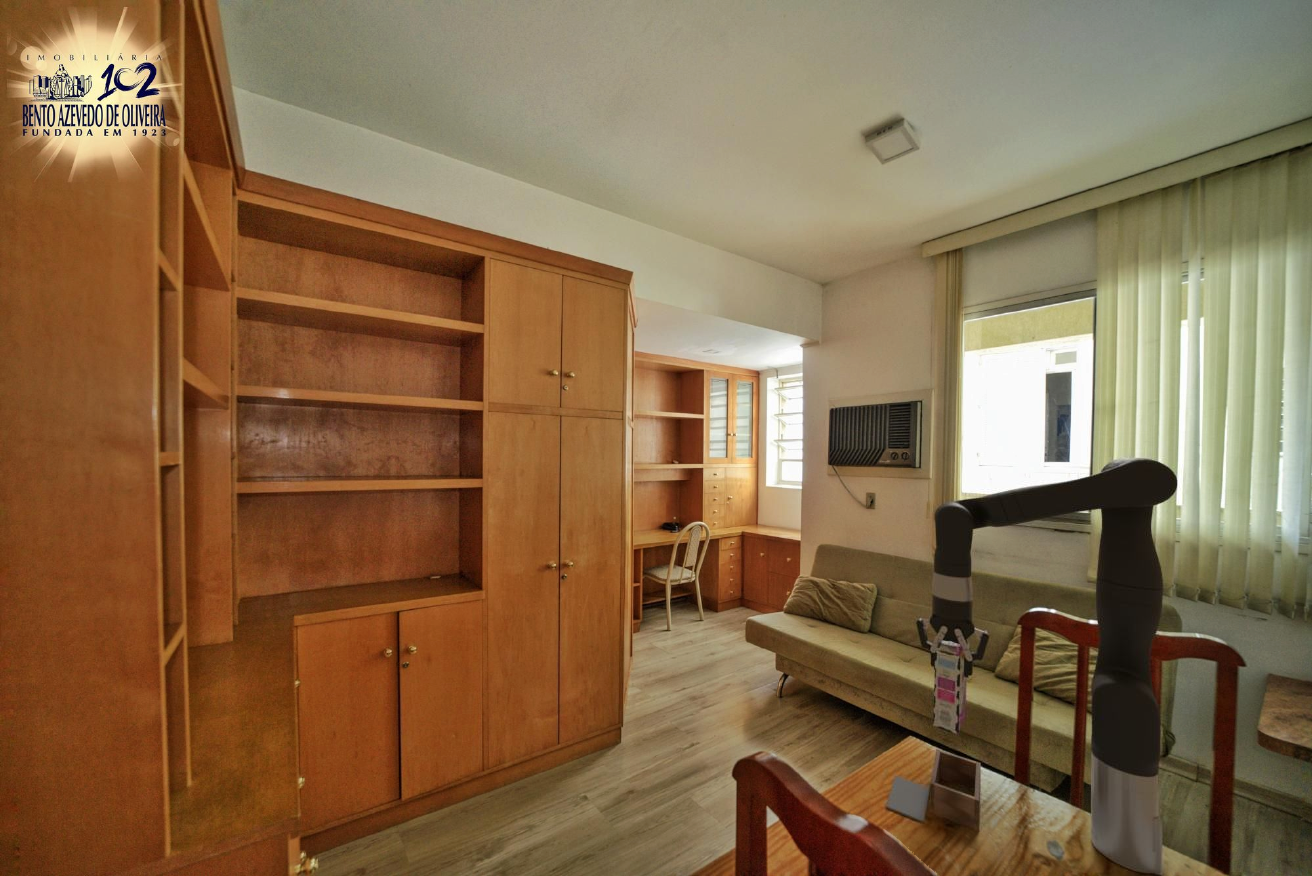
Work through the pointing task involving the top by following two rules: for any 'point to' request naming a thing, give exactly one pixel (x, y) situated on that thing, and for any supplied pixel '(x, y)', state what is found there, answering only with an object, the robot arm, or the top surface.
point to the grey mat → (908, 798)
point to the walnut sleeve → (953, 801)
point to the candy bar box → (949, 687)
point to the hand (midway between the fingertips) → (951, 672)
